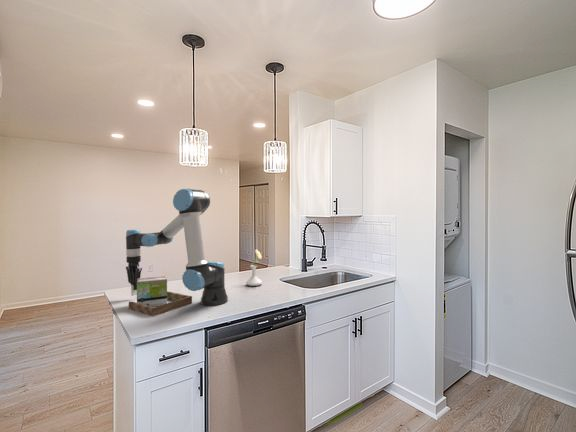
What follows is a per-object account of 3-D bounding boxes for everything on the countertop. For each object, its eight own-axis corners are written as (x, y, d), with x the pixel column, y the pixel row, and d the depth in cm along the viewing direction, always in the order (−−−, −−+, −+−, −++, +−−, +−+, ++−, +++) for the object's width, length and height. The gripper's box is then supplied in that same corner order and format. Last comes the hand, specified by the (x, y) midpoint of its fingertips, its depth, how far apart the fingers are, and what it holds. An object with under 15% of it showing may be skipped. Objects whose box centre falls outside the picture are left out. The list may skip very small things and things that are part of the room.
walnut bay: (192, 303, 170) (191, 296, 170) (153, 316, 149) (153, 308, 149) (168, 297, 181) (167, 291, 181) (128, 309, 160) (128, 301, 160)
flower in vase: (255, 287, 203) (254, 251, 203) (242, 285, 209) (242, 250, 209) (266, 283, 214) (266, 249, 214) (254, 282, 220) (254, 248, 220)
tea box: (137, 309, 161) (137, 281, 160) (136, 304, 169) (136, 278, 169) (167, 304, 168) (167, 278, 168) (165, 300, 177) (164, 275, 176)
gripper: (146, 255, 178) (146, 295, 178) (133, 254, 185) (133, 292, 185) (133, 257, 171) (134, 298, 172) (121, 255, 178) (121, 295, 178)
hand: (134, 295), depth 178 cm, fingers closed
